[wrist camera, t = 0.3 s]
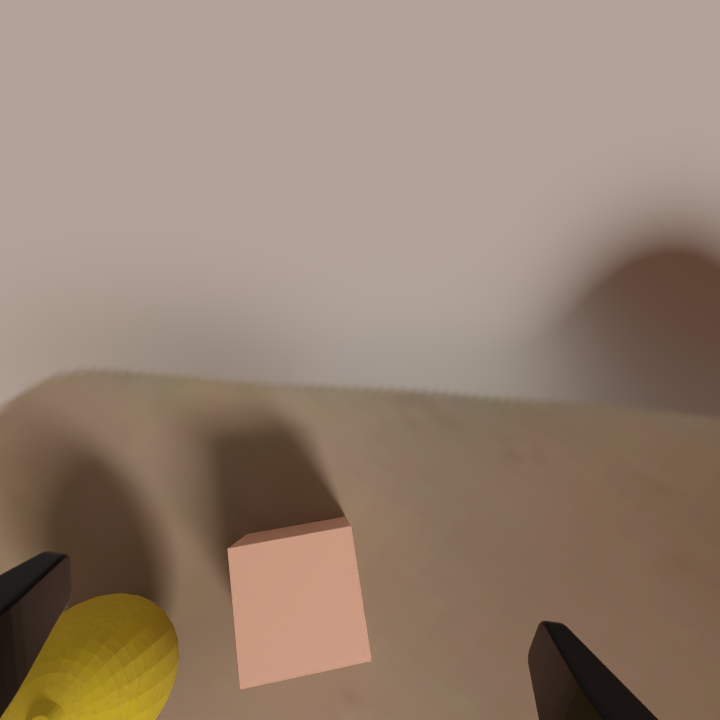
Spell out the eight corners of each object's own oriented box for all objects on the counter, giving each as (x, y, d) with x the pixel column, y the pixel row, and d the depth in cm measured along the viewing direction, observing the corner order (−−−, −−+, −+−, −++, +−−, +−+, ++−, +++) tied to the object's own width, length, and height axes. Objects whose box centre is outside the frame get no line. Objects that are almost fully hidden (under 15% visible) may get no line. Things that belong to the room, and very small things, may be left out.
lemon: (55, 625, 22) (-94, 708, 14) (163, 552, 23) (80, 590, 15) (112, 737, 21) (-14, 891, 13) (221, 655, 22) (165, 752, 14)
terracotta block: (361, 622, 23) (371, 661, 18) (258, 643, 22) (240, 689, 17) (345, 516, 24) (350, 526, 19) (247, 534, 23) (227, 548, 18)
